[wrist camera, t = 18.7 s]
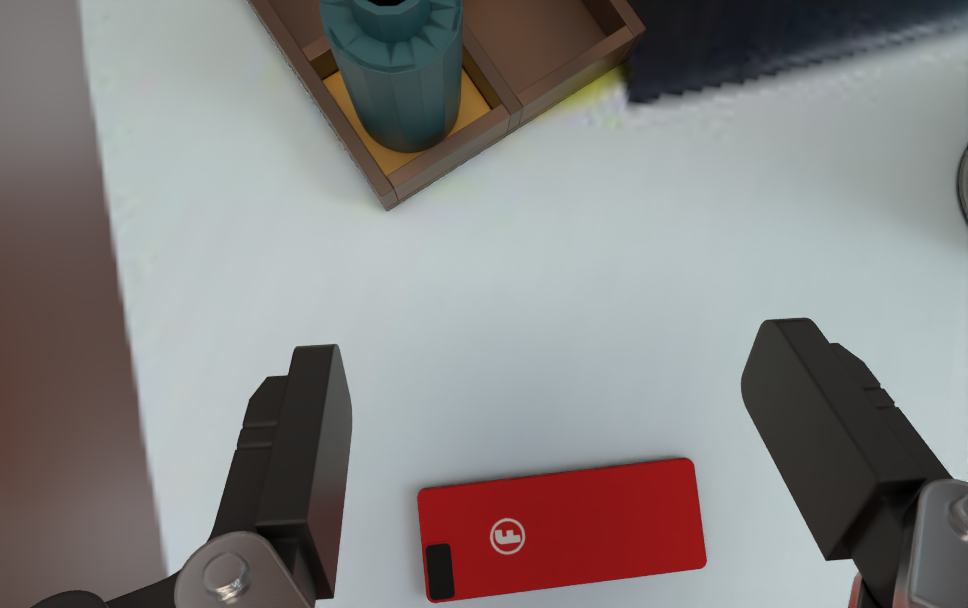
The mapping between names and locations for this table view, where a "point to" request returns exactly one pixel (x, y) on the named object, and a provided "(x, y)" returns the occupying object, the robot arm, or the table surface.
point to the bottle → (399, 66)
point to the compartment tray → (465, 76)
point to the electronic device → (560, 529)
